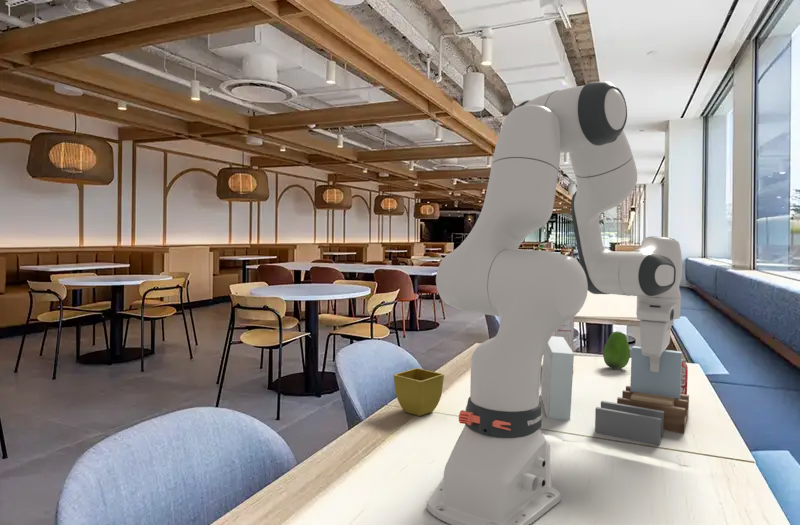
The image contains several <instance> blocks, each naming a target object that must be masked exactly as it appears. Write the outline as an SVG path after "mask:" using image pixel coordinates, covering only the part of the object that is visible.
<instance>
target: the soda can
mask: <svg viewBox="0 0 800 525" xmlns="http://www.w3.org/2000/svg"><path fill="white" fill-rule="evenodd" d="M688 368H689V367H688V365H687V363H686V359H685V357H683V356H682V368H681V393H680V394H686V395H688V376H689V375H688V373H689V372H688V371H689V370H688Z"/></svg>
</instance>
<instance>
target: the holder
mask: <svg viewBox="0 0 800 525" xmlns="http://www.w3.org/2000/svg"><path fill="white" fill-rule="evenodd" d="M594 412H595V415H594V416H595V418H594V421H595V422H594V434H595V433H596V434H599V435H605V436H610V437H613V438H614V437H615V438H617V439H618V438H619V439H624V440H629V441H633V442H639V443H644V444H649V445H652V446H653V445H654V446H658V447H659V446H660V445H661V442H662V440H663V437H664V430H663V424H664V411H659V410H653V409H648V408H642V407H636V406H630V405H624V404H618V403H617V402H612V401H606V400H601V401H600V406H599V407H598V406H596V407H595V411H594Z"/></svg>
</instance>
